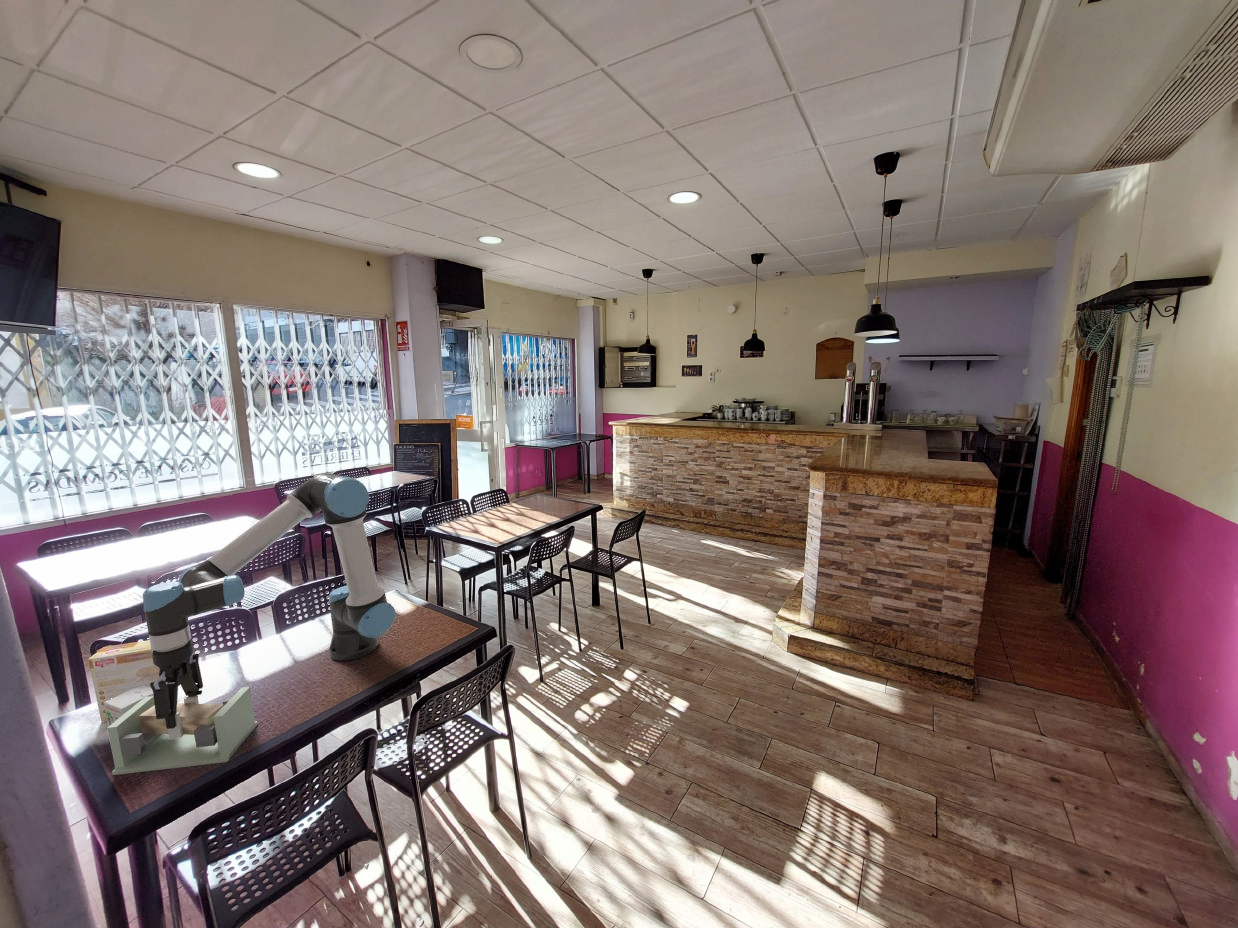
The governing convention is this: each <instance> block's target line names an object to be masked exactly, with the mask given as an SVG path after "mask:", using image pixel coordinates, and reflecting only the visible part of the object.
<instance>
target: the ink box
mask: <svg viewBox="0 0 1238 928" xmlns="http://www.w3.org/2000/svg"><path fill="white" fill-rule="evenodd" d="M149 696H153V690H152V688H151V687H148V686H145V685H139V686H137V687H135V688H133V689H131V690H129V691H127V692H125V693H122V694H120V695H118V696H116V697H114V698H112V699H109V700H107V701H105V702H104V706H105V711H106V716H107V721H106V722H107V726H108V727H109V726H110V725H111V724H112V723H114V722H115V721H116V720H117V719H119V718H120V717H121V716H122V715H124V714H125V713H126V712H127V711H128V710H130V709H131V708H132V707H133V706H135V705H136V704H137V703H138V702H140V701H141V700H142V699H143V698H145V697H149Z"/></svg>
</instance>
